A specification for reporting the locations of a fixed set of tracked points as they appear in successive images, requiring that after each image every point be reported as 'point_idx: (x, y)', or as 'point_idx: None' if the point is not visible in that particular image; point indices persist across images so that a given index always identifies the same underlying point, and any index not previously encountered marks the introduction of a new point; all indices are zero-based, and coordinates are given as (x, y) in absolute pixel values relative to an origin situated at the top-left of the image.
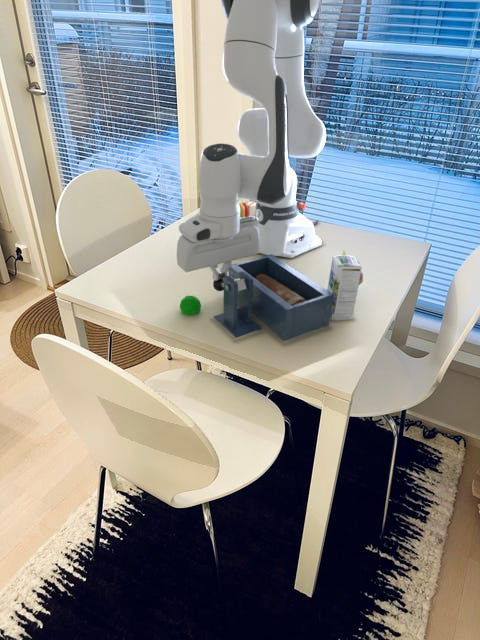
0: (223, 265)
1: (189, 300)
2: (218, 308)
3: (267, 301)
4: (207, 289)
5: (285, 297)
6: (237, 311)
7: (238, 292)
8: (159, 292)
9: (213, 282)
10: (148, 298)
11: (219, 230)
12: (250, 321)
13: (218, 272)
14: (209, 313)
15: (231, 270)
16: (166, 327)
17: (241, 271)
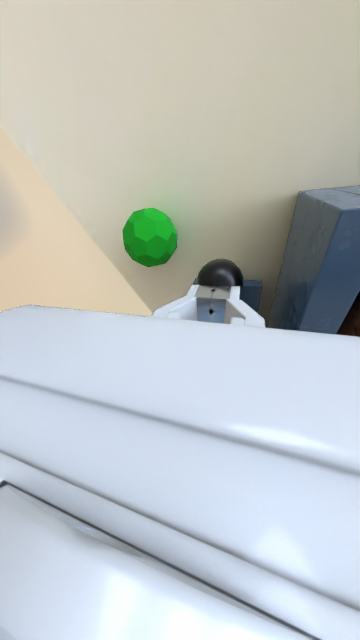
0: (235, 315)
1: (136, 257)
2: (230, 239)
3: None
4: (279, 71)
5: None
6: (248, 295)
7: (290, 271)
8: (93, 2)
9: (198, 276)
10: (60, 57)
11: None
12: None
13: (203, 313)
14: (199, 249)
15: (324, 241)
16: (107, 253)
17: None
